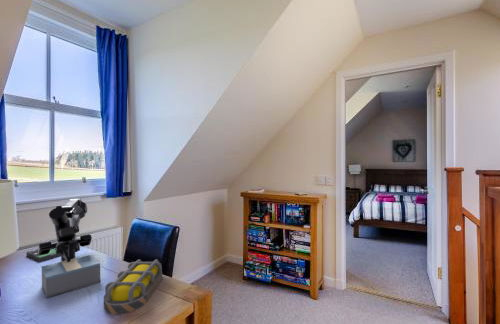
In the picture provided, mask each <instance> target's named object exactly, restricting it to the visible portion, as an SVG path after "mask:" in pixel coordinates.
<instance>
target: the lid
mask: <svg viewBox="0 0 500 324" xmlns="http://www.w3.org/2000/svg"><path fill="white" fill-rule="evenodd" d="M96 266H100V267H101V263H100V261H98V259H97V258H96V257H95V256H94V255H93V254H88V255H84V256H80V257H75V258H74V259H71V260H70V262H67V261H61V260H60V261H59V262H55V263H50V264H46V265H42V266H40V267H41V272H42V271H43V274H44V276H45V279H46V280H48V279H51V278H55V277H59V276H63V275H66V274H70V273H74V272H78V271H81V270H85V269H89V268H93V267H96Z"/></svg>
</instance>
